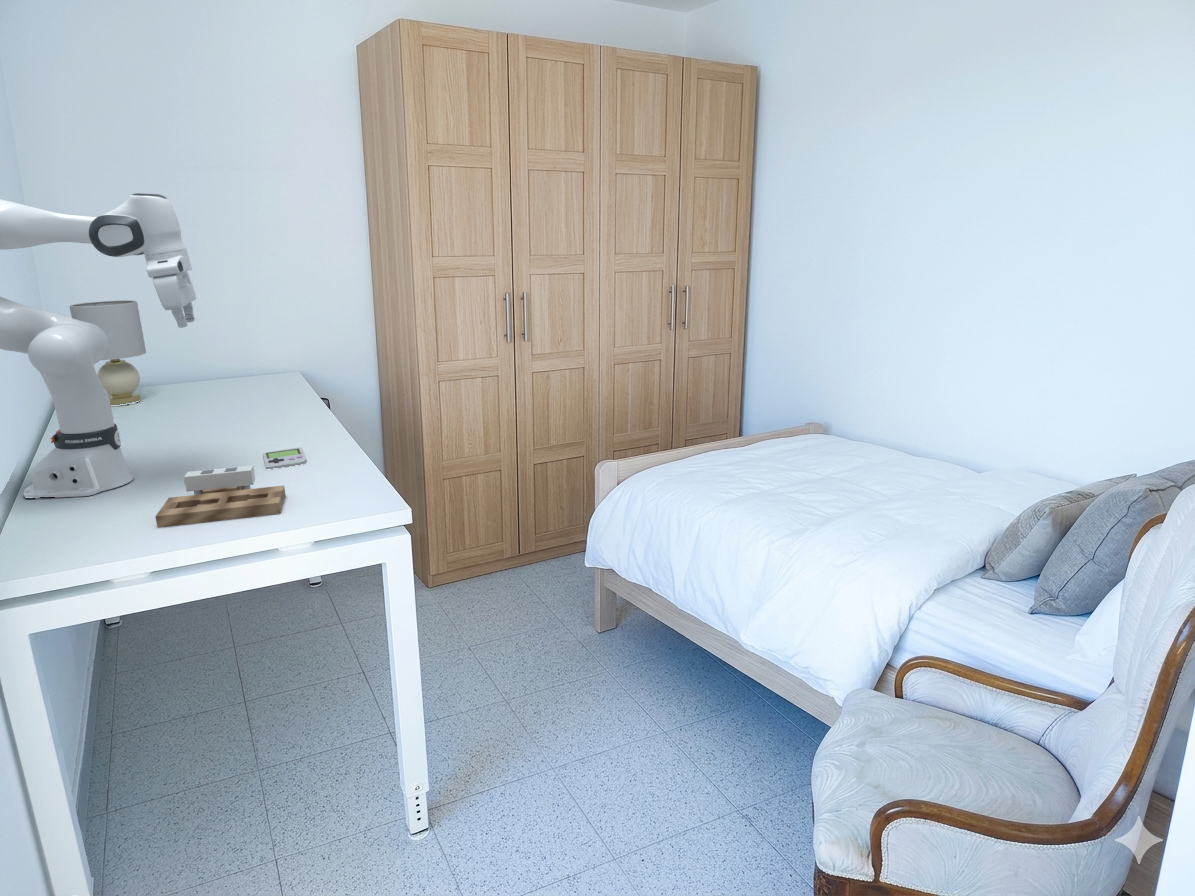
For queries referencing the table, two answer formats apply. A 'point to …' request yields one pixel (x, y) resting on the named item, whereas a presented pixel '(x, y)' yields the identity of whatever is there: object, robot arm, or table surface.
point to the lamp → (116, 345)
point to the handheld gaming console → (284, 458)
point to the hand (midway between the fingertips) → (187, 324)
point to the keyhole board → (221, 506)
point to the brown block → (221, 490)
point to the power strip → (219, 479)
